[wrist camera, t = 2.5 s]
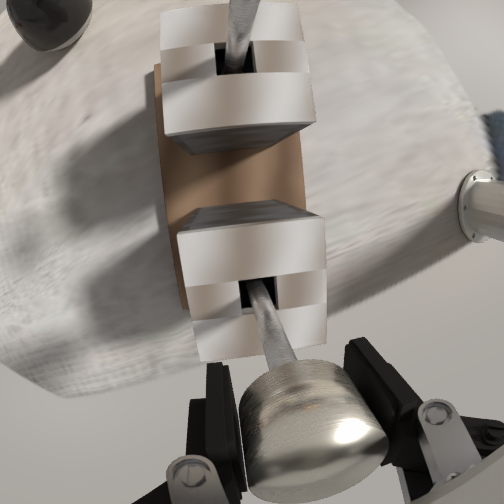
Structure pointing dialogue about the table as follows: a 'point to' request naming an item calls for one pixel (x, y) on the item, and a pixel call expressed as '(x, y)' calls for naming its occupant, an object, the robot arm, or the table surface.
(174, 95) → the press station
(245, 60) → the copper plunger
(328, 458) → the ivory plunger
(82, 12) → the pump dispenser
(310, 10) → the table surface
